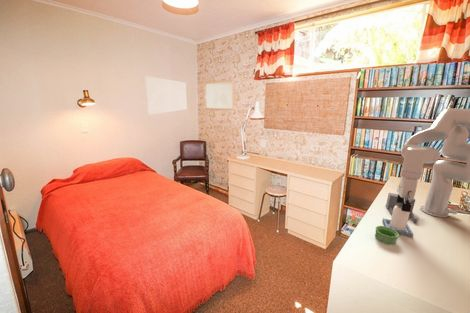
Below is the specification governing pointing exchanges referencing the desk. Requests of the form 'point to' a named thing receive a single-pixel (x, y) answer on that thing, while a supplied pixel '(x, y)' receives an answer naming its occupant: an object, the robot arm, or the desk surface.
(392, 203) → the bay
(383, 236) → the ramekin
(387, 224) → the tray
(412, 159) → the robot arm
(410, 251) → the desk surface
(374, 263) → the desk surface
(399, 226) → the can
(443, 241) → the desk surface
